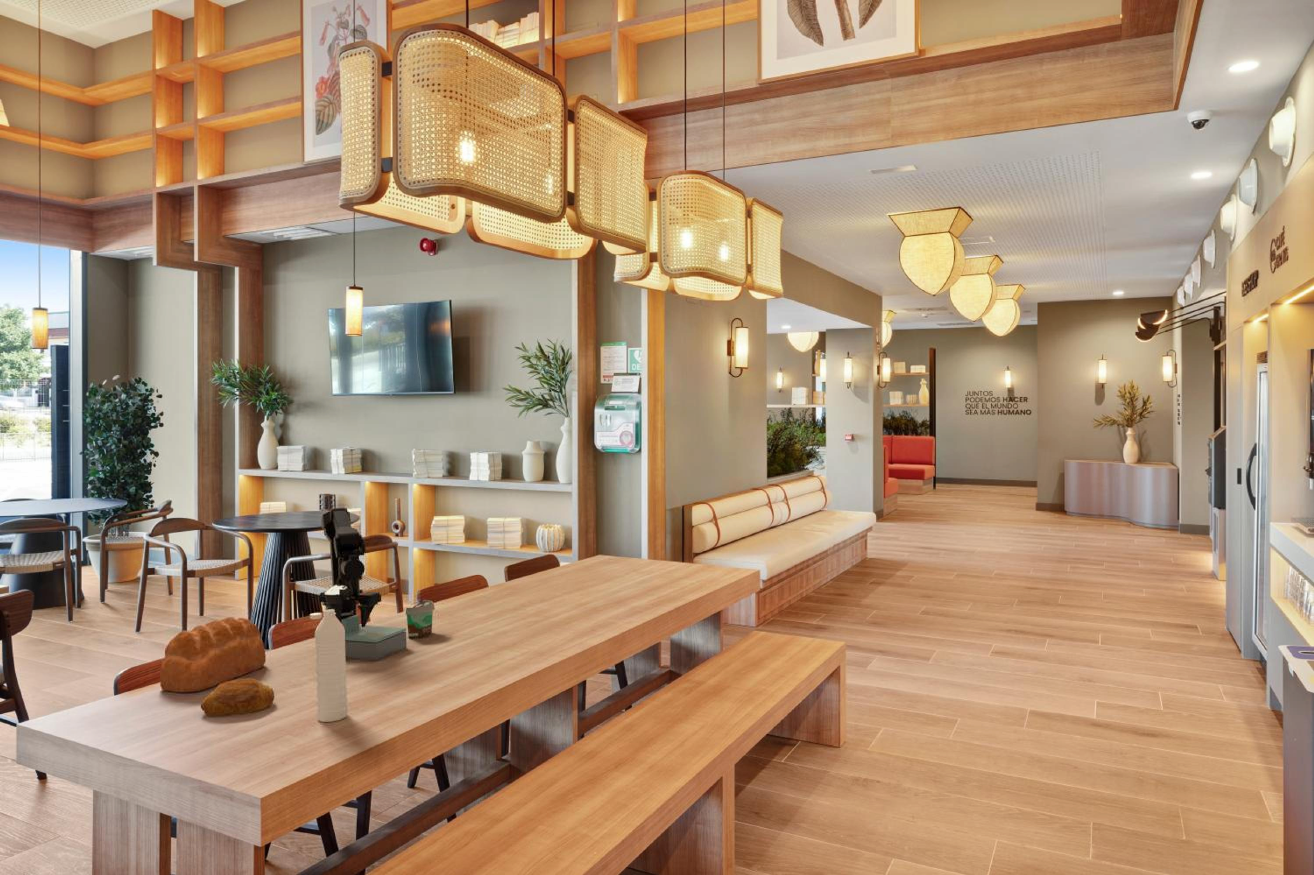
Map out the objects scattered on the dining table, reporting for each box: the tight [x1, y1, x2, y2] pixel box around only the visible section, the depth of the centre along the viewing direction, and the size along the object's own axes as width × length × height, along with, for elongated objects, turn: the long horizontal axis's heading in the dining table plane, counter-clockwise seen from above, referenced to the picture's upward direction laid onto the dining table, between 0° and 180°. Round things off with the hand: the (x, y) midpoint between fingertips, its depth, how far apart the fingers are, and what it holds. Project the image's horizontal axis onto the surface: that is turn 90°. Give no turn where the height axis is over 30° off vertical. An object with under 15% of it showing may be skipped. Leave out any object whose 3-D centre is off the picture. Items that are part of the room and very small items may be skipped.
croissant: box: [200, 677, 275, 717], centre depth 203 cm, size 14×16×8 cm
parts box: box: [345, 631, 408, 662], centre depth 249 cm, size 16×14×5 cm
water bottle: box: [309, 609, 348, 723], centre depth 193 cm, size 9×6×25 cm
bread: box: [159, 616, 267, 693], centre depth 228 cm, size 14×26×16 cm, turn 163°
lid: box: [341, 614, 407, 643], centre depth 249 cm, size 16×14×5 cm
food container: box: [405, 599, 436, 640], centre depth 269 cm, size 12×6×10 cm, turn 168°
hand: (350, 626), depth 251 cm, fingers open, 9 cm apart
